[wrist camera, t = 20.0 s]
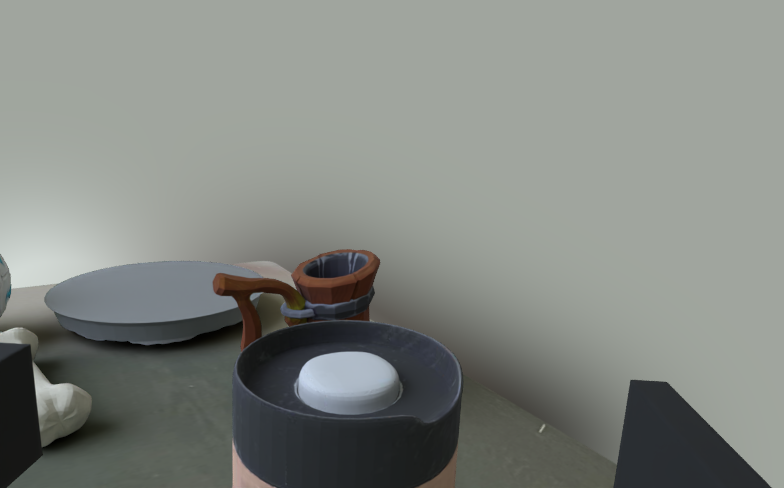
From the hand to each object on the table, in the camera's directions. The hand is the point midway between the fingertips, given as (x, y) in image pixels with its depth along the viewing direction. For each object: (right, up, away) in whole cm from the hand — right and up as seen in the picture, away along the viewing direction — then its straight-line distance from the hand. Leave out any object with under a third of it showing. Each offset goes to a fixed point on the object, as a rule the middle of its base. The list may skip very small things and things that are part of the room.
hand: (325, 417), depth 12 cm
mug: (-8, -12, +44) cm, 46 cm away
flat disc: (-31, -7, +64) cm, 71 cm away
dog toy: (-34, -12, +40) cm, 54 cm away
